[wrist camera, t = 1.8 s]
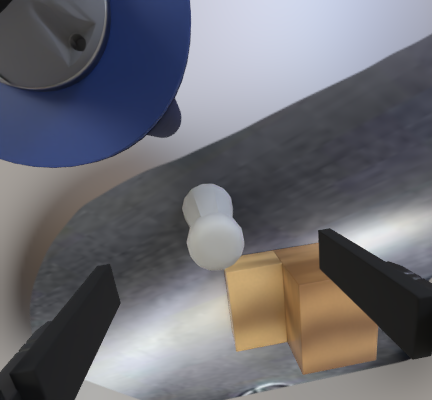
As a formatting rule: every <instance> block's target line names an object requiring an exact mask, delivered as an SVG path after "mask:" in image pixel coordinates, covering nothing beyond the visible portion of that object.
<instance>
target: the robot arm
mask: <svg viewBox="0 0 432 400" xmlns="http://www.w3.org/2000/svg"><path fill="white" fill-rule="evenodd" d="M110 27H111V7H110V0H0V82H1V83H4V84H7V85H10V86H13V87H16V88H19V89H23V90H28V91H35V92H48V91H56V90H61V89H64V88H67V87H69V86H72V85H74V84H76V83H78V82H79V81H81V80H82V79H83V78H85V77H86V76H87V75H88V74H89V73H90V72H91V71H92V70H93V69H94V68H95V67H96V65H97V64H98V62H99V61H100V59H101V57H102V55H103V53H104V51H105V49H106V46H107V43H108V39H109V34H110ZM318 233H319V269H320V270H321V271H322V272H323V273H324V274H325V275H326V276H327V277H328V278H329V279H331V280H332V281H333V282H334V283H335V284H336V285H337V286H338V287H339V288H340V289H341V290H342V291H343V292H344V293H345V294H346V295H347V296H348V297H349V298H350V299H351V300H352V301H353V302H354V303H355V304H356V305H357V306H358V307H359V308H360V309H361V310H362V311H363V312H364V313H365V314H366V315H367V316H368V317H369V318H370V319H372V320H373V321H374V322H375V323H376V324H377V325H378V326H379V327H380V328H381V329H382V330H383V331H384V332H385V333H386V334H387V335H388V336H389V337H390V338H391V339H392V340H393V341H394V342H395V343H396V344H397V345H398V346H399V347H400V348H401V349H402V350H403V351H404V352H405V353H406V354H407V355H408V356H409V357H410V358H411V359H418V358H422V357H428V356H431V354H432V283H430V282H429V281H427V280H425V279H424V278H423V279H422V278H421V277H420V276H418V275H417V274H415V273H412V272H411V271H410V270H408V269H406V268H404V267H403V266H400V265H398V264H395V263H392V262H389V261H388V262H385V261H383V260H382V259H380V258H378V257H377V256H375V255H373V254H372V253H370V252H368V251H367V250H365V249H363V248H362V247H360V246H358V245H357V244H355V243H353V242H352V241H350V240H348V239H347V238H345V237H343V236H342V235H340V234H338V233H337V232H335V231H333V230H332V229H330V228H329V229H323V230H318ZM119 305H120V299H119V295H118V292H117V288H116V284H115V281H114V277H113V273H112V269H111V266H110V264H107V265H101V266H97V267H96V268H95V269H94V271H93V272H92V273H91V274H90V276H89V277H88V278H87V279H86V280H85V282H84V283H83V284H82V285H81V286H80V288H79V289H78V290H77V291H76V293H75V294H74V295H73V296H72V297H71V299H70V300H69V301H68V302H67V304H66V305H65V306H64V307H63V308H62V310H61V311H60V312H59V313H58V315H57V316H56V317H55V318H54V319H53V321H48V322H47V323H45V324H44V325H43V326H41V327H40V328H39V329H38V330H36V331H35V332H34V333H33V335H32V336H31V337H30V338H29V339H28V340H27V343H26V344H24V345H23V346H22V347H21V349H20V350H19V352H18V353H16V354H15V355H14V357H13V358H12V359H11V360H10V361H9V362H8V364H7V365H6V366H5V367H4V368H3V369H2V371H1V372H0V400H75V398H76V396H77V394H78V392H79V389H80V387H81V385H82V383H83V381H84V379H85V377H86V375H87V373H88V370H89V368H90V366H91V364H92V362H93V360H94V358H95V356H96V354H97V352H98V349H99V347H100V345H101V343H102V341H103V339H104V337H105V335H106V333H107V330H108V328H109V326H110V324H111V322H112V320H113V318H114V316H115V314H116V312H117V309H118V307H119Z"/></svg>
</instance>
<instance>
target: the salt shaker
mask: <svg viewBox="0 0 432 400" xmlns="http://www.w3.org/2000/svg"><path fill="white" fill-rule="evenodd" d="M182 210H183V214H184V217H185V220H186V222H187V223H188V225H189V227H190V230H189V235H188V239H187V246H188V249H189V253H190V256H191V258H192V259H193V260H194V261H195V262H196V264H197V265H198V266H199V267H202V268H205V269H207V270H210V271H212V270H224V269H226V268H228V267H230V266H232V265H234V264H235V262H236V261H237V260H238V259H239V258H240V257H241V255H242V252H243V248H244V238H243V233H242V229H241V227H240V226H239V225H238V224H237V223H236V221H235V220H234V219H233V218H232V216H233V206H232V201H231V197H230V196H229V195H228V193H227V192H226V191H225V190H224V189H223V188H221V187H219V186H217V185H215V184H201V185H199V186H197V187H195V188H193V189H191V190H190V192H189V193H188V194H187V196H186V197H185V199H184V203H183V207H182Z"/></svg>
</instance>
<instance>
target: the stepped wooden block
mask: <svg viewBox="0 0 432 400" xmlns="http://www.w3.org/2000/svg"><path fill="white" fill-rule="evenodd" d="M224 274H225V281H226V288H227V296H228V303H229V310H230V317H231V325H232V332H233V337H234V341H235V346H236V351H243V350H248V349H253V348H258V347H263V346H269V345H274V344H279V343H284V342H288V344H289V346H290V348H291V350H292V353H293V355H294V357H295V359H296V361H297V363H298V365H299V367H300V369H301V372H302V374H303V375H304V374H309V373H314V372H319V371H324V370H329V369H334V368H339V367H344V366H349V365H354V364H359V363H364V362H369V361H374V360H376V353H377V336H378V325H377V324H376V323H375V322H374V321H373V320H372V319H370V318H369V317H368V316H367V315H366V314H365V313H364V312H363V311H362V310H361V309H360V308H359V307H358V306H357V305H356V304H355V303H354V302H353V301H352V300H351V299H350V298H349V297H348V296H347V295H346V294H345V293H344V292H343V291H342V290H341V289H340V288H339V287H338V286H337V285H336V284H335V283H334V282H333V281H332V280H331V279H329V278H328V277H327V276H326V275H325V274H324V273H323V272H322V271H321V270H320V269H319V243H314V244H308V245H302V246H296V247H290V248H284V249H278V250H273V251H266V252H260V253H254V254H248V255H242V256H241V257H240V258H239V259H238V260H237V261H236V262H235V264H234V265H232V266H230V267H228V268H226V269H224Z"/></svg>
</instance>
